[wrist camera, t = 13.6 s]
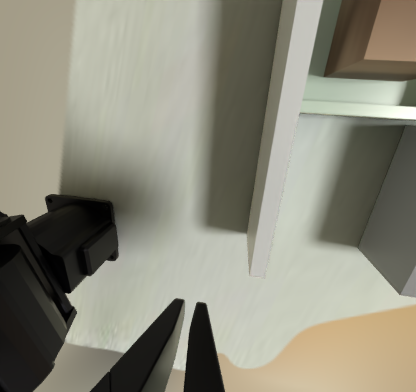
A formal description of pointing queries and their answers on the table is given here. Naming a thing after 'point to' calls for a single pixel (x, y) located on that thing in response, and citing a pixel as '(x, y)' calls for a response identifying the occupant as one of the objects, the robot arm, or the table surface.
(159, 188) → the table surface
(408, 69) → the walnut block
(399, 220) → the console
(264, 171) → the drink tray
